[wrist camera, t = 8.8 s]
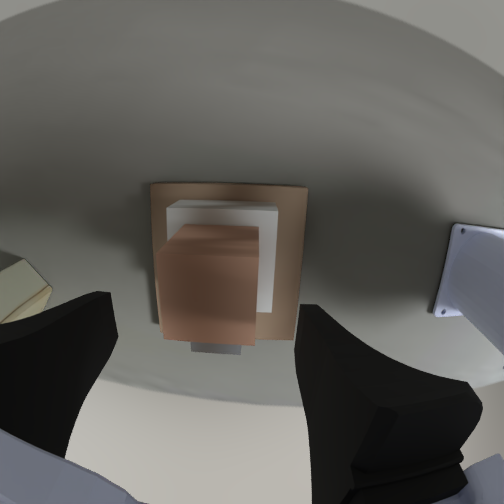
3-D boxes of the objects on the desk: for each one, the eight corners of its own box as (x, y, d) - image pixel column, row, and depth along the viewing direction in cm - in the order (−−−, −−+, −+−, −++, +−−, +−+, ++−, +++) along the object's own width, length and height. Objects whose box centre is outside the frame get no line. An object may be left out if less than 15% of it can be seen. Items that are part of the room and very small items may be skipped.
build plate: (305, 186, 19) (317, 194, 16) (292, 332, 23) (297, 365, 19) (155, 182, 20) (132, 189, 16) (164, 325, 23) (148, 355, 19)
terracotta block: (258, 226, 16) (259, 257, 12) (255, 295, 18) (254, 345, 13) (184, 224, 16) (156, 253, 12) (187, 291, 18) (163, 339, 13)
